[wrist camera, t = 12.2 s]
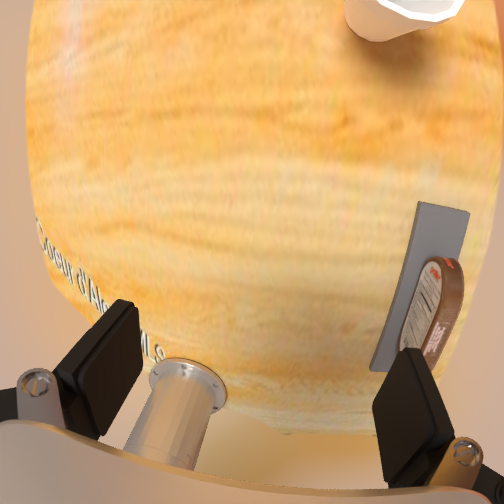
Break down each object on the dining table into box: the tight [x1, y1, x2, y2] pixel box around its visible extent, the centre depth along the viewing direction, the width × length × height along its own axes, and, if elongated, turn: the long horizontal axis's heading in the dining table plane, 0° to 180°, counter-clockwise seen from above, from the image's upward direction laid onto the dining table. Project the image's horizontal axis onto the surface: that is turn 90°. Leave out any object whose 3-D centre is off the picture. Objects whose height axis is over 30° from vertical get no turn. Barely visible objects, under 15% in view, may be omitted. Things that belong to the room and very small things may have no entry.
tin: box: [398, 256, 464, 371], centre depth 32 cm, size 15×3×8 cm, turn 175°
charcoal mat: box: [369, 201, 470, 372], centre depth 36 cm, size 24×7×1 cm, turn 175°
